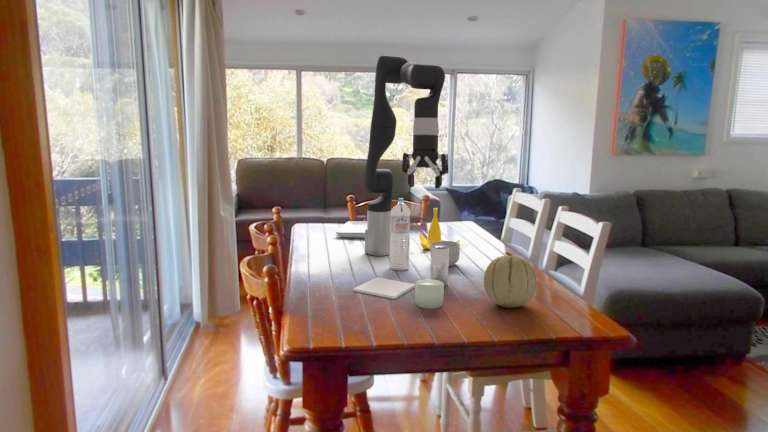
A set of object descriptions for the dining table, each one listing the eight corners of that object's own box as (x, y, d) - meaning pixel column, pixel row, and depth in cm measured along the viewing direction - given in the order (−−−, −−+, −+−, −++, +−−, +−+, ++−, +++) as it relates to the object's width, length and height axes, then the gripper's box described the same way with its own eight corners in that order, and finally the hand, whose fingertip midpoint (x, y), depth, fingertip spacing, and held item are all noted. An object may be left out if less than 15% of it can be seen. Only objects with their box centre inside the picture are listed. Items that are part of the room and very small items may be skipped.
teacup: (458, 269, 180) (459, 247, 179) (427, 267, 183) (428, 245, 181) (460, 260, 194) (461, 239, 193) (431, 258, 196) (432, 237, 195)
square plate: (347, 227, 254) (347, 220, 253) (402, 230, 250) (402, 222, 250) (335, 239, 227) (335, 230, 227) (396, 242, 224) (396, 233, 223)
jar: (410, 305, 143) (410, 284, 142) (422, 297, 150) (422, 277, 149) (436, 310, 140) (437, 289, 139) (447, 302, 146) (448, 282, 145)
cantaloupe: (502, 318, 134) (505, 263, 132) (471, 301, 148) (474, 250, 145) (546, 311, 140) (551, 258, 138) (513, 295, 154) (516, 246, 151)
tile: (353, 291, 155) (353, 288, 154) (376, 279, 167) (376, 277, 167) (394, 299, 148) (394, 296, 148) (415, 286, 160) (415, 284, 160)
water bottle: (411, 267, 183) (413, 197, 178) (405, 272, 176) (407, 200, 172) (393, 265, 185) (394, 196, 181) (386, 269, 178) (388, 199, 174)
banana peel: (420, 252, 206) (422, 211, 203) (419, 242, 224) (420, 204, 221) (462, 253, 205) (464, 212, 202) (457, 243, 224) (458, 205, 221)
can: (427, 284, 163) (428, 247, 161) (434, 280, 167) (435, 243, 165) (443, 287, 160) (445, 249, 158) (450, 282, 165) (452, 245, 163)
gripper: (398, 133, 153) (398, 187, 155) (443, 133, 146) (441, 190, 148) (409, 133, 159) (408, 185, 162) (452, 133, 153) (451, 188, 155)
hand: (424, 187), depth 155 cm, fingers open, 8 cm apart
